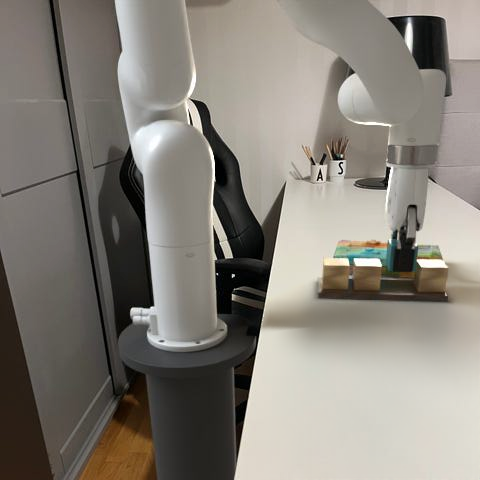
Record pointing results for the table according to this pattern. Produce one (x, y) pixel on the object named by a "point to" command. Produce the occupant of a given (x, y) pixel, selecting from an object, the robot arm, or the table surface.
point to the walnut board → (384, 292)
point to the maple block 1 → (335, 273)
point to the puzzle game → (381, 254)
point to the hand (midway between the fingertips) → (400, 265)
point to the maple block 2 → (366, 274)
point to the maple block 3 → (430, 276)
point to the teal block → (390, 254)
